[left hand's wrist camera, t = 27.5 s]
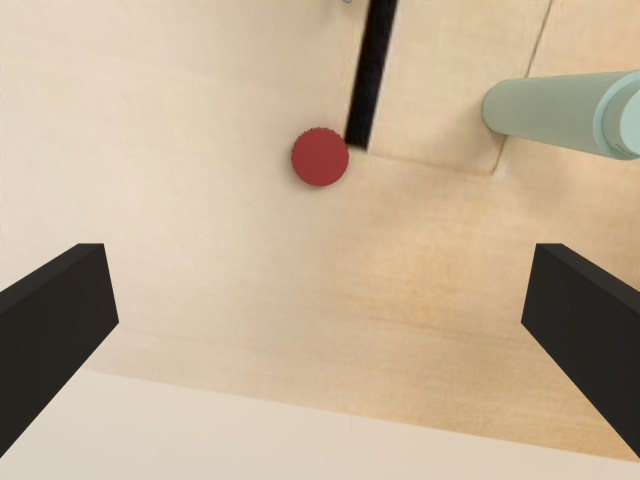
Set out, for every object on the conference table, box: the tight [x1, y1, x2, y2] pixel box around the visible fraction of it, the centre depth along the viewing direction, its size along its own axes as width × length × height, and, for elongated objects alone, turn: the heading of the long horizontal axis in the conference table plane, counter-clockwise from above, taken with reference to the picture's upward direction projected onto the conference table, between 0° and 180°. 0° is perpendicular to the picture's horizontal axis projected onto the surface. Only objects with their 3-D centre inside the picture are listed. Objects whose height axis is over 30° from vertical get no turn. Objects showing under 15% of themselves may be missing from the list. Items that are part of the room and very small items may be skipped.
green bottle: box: [482, 70, 640, 160], centre depth 30 cm, size 5×5×18 cm
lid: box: [291, 127, 349, 186], centre depth 39 cm, size 5×5×2 cm
